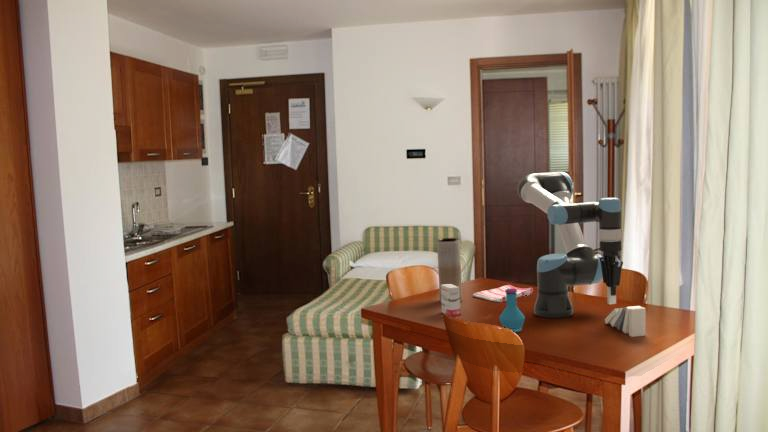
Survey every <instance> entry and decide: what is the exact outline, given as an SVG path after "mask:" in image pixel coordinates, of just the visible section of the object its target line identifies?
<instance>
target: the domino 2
mask: <svg viewBox="0 0 768 432" xmlns="http://www.w3.org/2000/svg"><path fill="white" fill-rule="evenodd" d="M626 307H627V306H626ZM626 307H625V306H624V307H622V308H623V309H622V312H621V315H620V317H619V320H618V323H617V325H616V327H615V328H616V329H617V330H618V331H622V330H623V324H624V318H625V313H626Z"/></svg>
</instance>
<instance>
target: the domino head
mask: <svg viewBox="0 0 768 432" xmlns="http://www.w3.org/2000/svg"><path fill="white" fill-rule="evenodd" d="M619 308H620V307H619ZM619 308H617V307H615V308H614V309H613V310H612V311H611V312H609V314H608V315H607V317H605V318H604V322H605V325H611V323H610V322H611V321H612V319H613V318H614V316H615V315H616V313H617V311H618V310H619Z"/></svg>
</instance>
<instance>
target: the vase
mask: <svg viewBox="0 0 768 432" xmlns="http://www.w3.org/2000/svg"><path fill="white" fill-rule="evenodd" d="M460 241H461V240H460V239H459V238H458V237H457V238H455V237H451V238H450V237H447V238H446V237H445V238H439V239H437V240H436V244H437V246H436V247H437V269H438V286H439V287H438V288H439V302H440V303H441V285H443V284H452V285H455V286H457V287H459V293H460V303H462V302H463V289H462V287H463V286H462V285H463V283H462V268H461V267H462V266H461V264H462V263H461V262H462V261H461V243H460Z"/></svg>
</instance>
